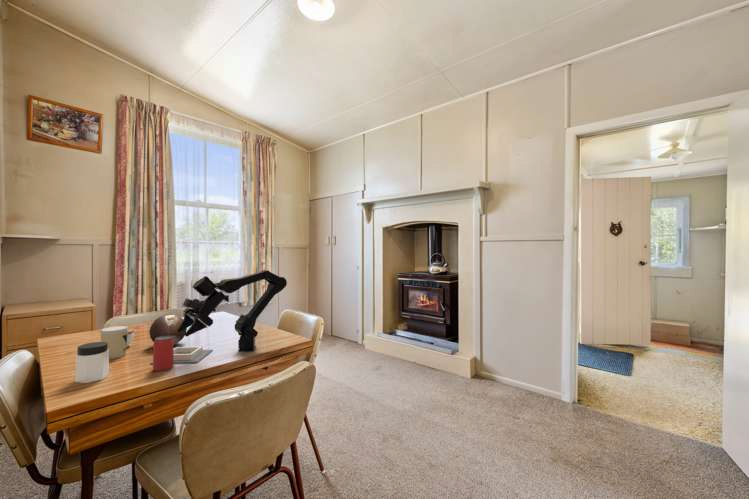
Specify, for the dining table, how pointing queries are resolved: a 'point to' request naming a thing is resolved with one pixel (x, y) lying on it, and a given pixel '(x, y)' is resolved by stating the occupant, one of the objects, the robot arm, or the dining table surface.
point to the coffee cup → (115, 340)
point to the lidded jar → (129, 336)
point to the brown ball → (167, 328)
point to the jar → (92, 362)
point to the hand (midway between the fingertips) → (181, 333)
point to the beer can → (163, 353)
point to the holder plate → (188, 355)
